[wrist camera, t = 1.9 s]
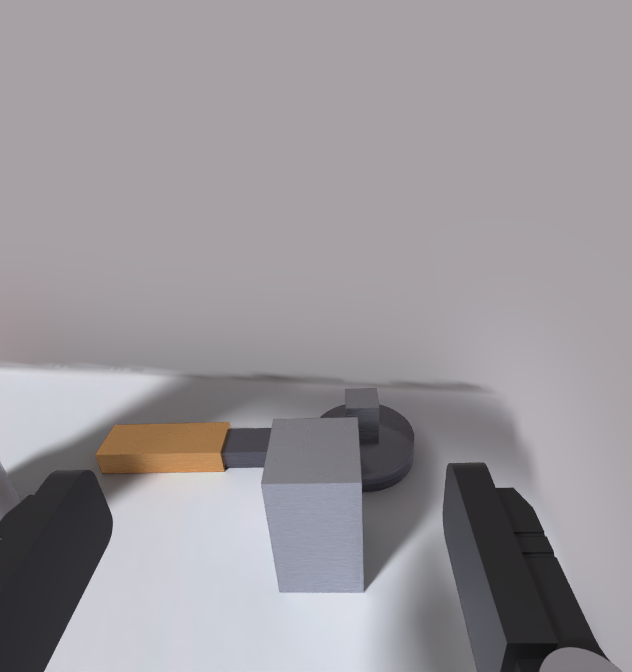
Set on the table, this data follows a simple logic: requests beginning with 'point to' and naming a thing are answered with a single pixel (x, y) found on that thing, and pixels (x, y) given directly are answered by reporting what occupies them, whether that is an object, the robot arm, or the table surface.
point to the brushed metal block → (315, 504)
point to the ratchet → (258, 444)
